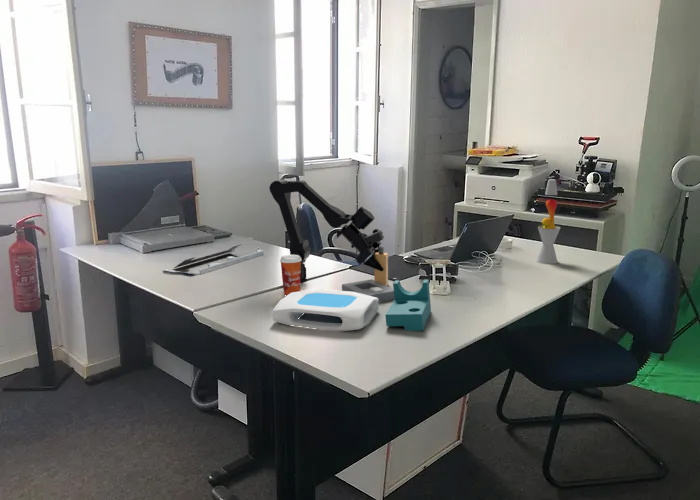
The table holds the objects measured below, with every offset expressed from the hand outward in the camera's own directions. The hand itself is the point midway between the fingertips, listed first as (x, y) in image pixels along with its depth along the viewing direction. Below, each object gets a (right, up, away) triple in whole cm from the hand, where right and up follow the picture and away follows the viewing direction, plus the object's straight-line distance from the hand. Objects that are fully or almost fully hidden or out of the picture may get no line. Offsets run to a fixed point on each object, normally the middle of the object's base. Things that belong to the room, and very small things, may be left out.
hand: (384, 268), depth 212 cm
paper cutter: (-72, +1, +40) cm, 82 cm away
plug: (-1, -6, +2) cm, 7 cm away
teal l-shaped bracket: (+6, -15, -36) cm, 39 cm away
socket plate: (-6, -9, -11) cm, 16 cm away
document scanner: (-20, -15, -32) cm, 41 cm away
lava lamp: (+72, +2, +33) cm, 79 cm away
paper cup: (-33, -9, -9) cm, 36 cm away
